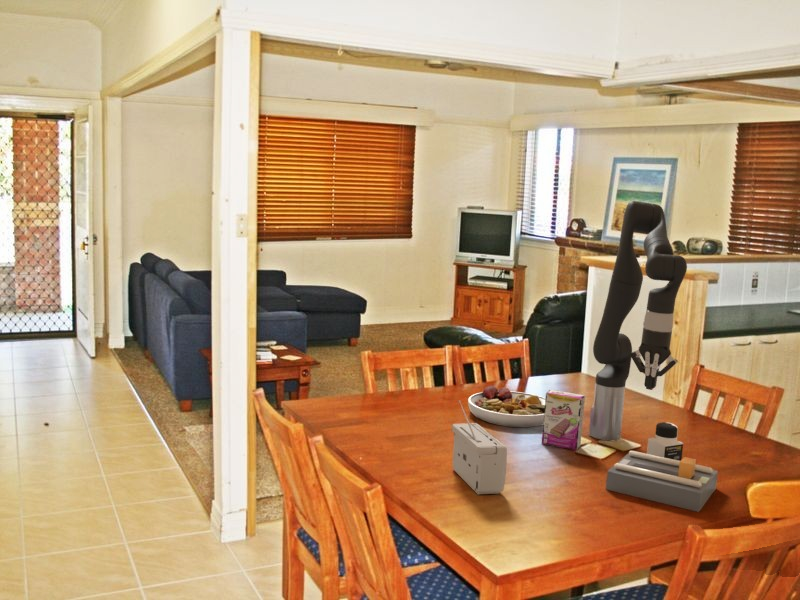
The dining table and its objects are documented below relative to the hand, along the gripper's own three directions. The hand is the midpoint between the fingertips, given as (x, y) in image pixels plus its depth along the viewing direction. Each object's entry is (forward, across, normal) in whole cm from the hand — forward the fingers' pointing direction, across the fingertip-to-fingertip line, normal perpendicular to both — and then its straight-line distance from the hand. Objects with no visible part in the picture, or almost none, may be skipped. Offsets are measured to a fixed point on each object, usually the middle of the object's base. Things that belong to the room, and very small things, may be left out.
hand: (649, 388), depth 235 cm
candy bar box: (+26, +27, -9) cm, 39 cm away
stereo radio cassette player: (+26, +33, +35) cm, 55 cm away
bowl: (+28, +52, -28) cm, 65 cm away
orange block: (+19, -14, +7) cm, 25 cm away
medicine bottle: (+25, -3, -14) cm, 29 cm away
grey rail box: (+24, -8, +7) cm, 27 cm away
